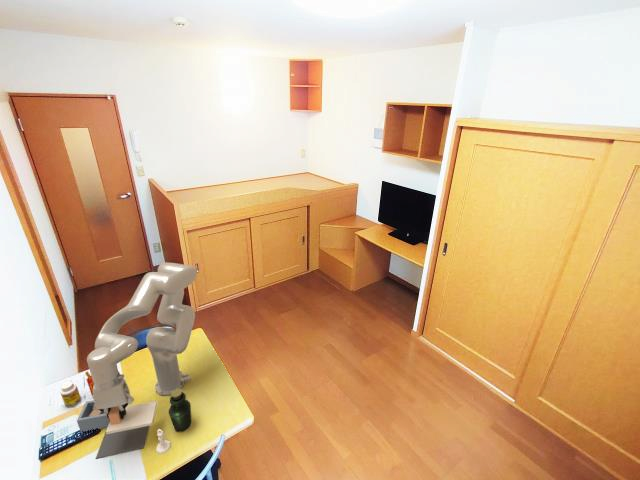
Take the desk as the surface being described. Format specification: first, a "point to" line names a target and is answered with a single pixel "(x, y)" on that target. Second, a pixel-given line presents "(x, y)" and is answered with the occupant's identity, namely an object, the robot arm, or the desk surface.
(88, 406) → the parts tub
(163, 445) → the chess piece
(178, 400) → the potion bottle
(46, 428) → the desk surface
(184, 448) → the desk surface
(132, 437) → the rubber mat
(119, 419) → the snap lid
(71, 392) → the supplement bottle
